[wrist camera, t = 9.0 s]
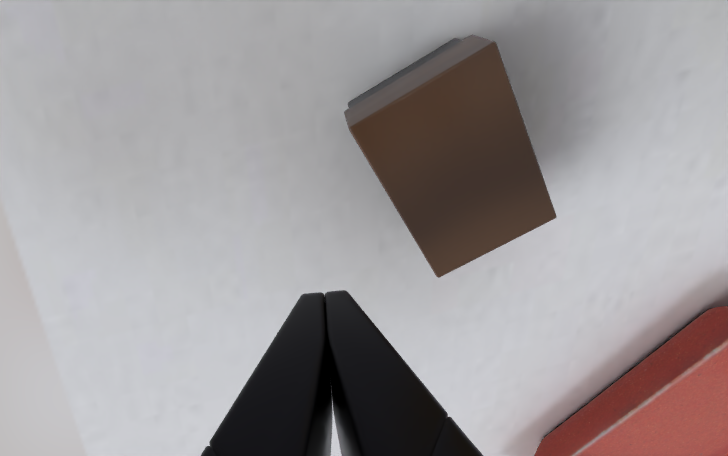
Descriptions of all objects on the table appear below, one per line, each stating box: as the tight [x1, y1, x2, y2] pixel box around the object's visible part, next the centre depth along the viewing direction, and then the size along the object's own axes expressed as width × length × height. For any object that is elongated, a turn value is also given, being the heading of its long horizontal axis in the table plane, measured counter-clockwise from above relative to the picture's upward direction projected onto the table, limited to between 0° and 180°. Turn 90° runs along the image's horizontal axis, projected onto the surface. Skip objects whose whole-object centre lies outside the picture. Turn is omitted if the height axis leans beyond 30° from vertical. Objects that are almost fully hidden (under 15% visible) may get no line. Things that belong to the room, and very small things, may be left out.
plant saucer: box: [535, 306, 728, 456], centre depth 28 cm, size 18×18×3 cm
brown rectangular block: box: [344, 35, 556, 277], centre depth 16 cm, size 7×5×4 cm
